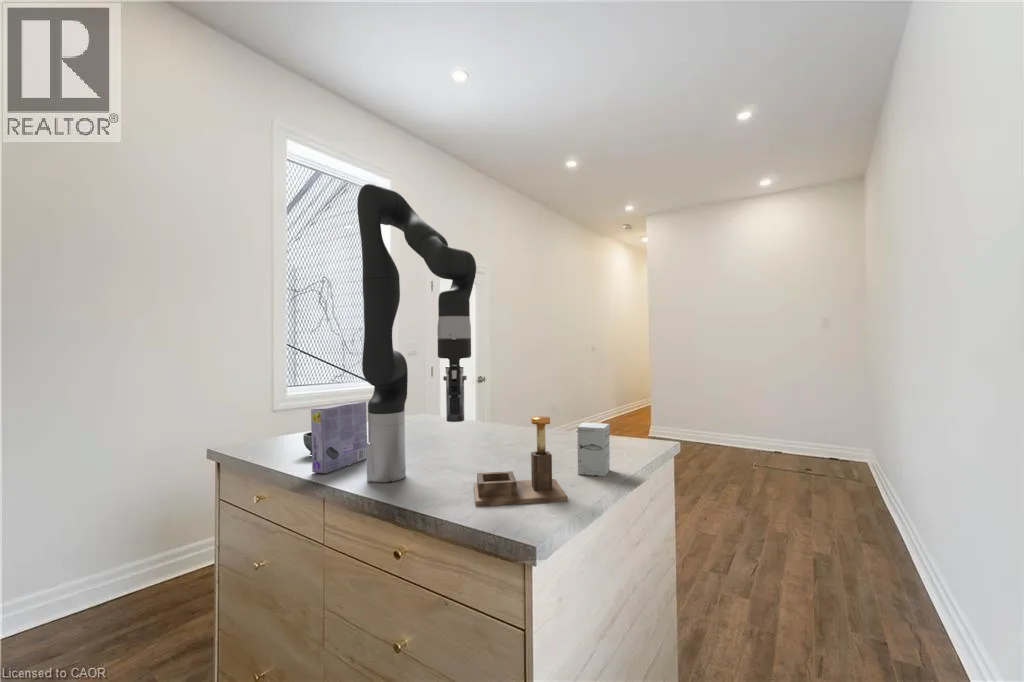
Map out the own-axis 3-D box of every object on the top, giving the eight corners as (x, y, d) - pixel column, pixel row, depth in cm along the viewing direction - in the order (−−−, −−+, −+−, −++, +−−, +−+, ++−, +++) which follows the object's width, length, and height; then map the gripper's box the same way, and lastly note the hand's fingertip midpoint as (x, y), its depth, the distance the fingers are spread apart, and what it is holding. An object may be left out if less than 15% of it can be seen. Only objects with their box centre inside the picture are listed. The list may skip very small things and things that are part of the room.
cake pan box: (357, 457, 143) (357, 400, 143) (371, 458, 141) (370, 400, 141) (310, 473, 125) (309, 408, 125) (324, 475, 123) (323, 409, 123)
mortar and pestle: (321, 459, 140) (321, 420, 140) (296, 457, 143) (296, 419, 143) (345, 451, 151) (345, 414, 151) (322, 449, 154) (321, 413, 154)
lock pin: (533, 463, 104) (532, 419, 104) (530, 458, 108) (529, 416, 108) (552, 462, 104) (551, 418, 104) (548, 457, 109) (548, 415, 109)
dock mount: (475, 506, 98) (474, 463, 98) (473, 487, 111) (473, 449, 111) (567, 500, 100) (566, 459, 100) (555, 483, 113) (554, 446, 113)
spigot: (443, 422, 101) (442, 377, 101) (444, 418, 106) (443, 375, 106) (467, 422, 102) (466, 376, 102) (466, 418, 107) (466, 375, 107)
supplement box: (576, 474, 120) (576, 426, 120) (583, 467, 127) (582, 421, 127) (605, 477, 117) (604, 427, 117) (610, 470, 124) (609, 423, 124)
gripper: (439, 337, 111) (439, 409, 111) (435, 336, 97) (436, 418, 97) (470, 337, 112) (471, 408, 112) (471, 336, 97) (472, 417, 97)
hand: (455, 412), depth 104 cm, fingers closed on spigot, 4 cm apart
